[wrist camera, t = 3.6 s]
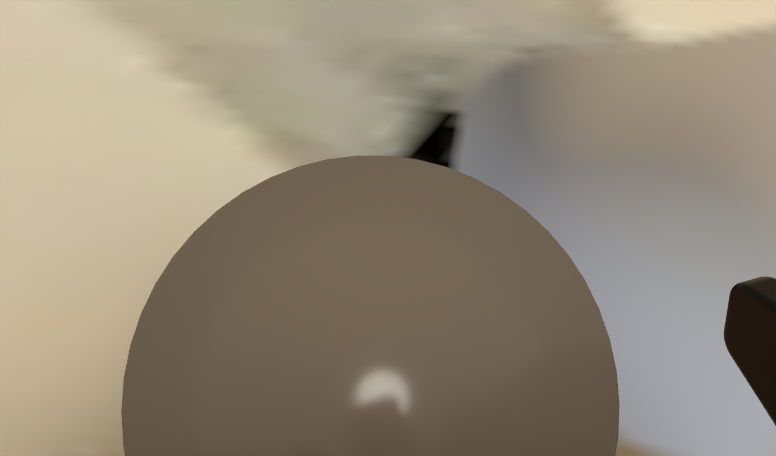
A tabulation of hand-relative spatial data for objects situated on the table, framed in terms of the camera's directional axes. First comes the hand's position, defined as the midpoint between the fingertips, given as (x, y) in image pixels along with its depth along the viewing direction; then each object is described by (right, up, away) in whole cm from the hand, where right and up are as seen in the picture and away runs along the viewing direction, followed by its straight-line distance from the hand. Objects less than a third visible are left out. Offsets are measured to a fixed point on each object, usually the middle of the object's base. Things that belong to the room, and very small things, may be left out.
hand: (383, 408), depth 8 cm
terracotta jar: (0, -2, +8) cm, 8 cm away
